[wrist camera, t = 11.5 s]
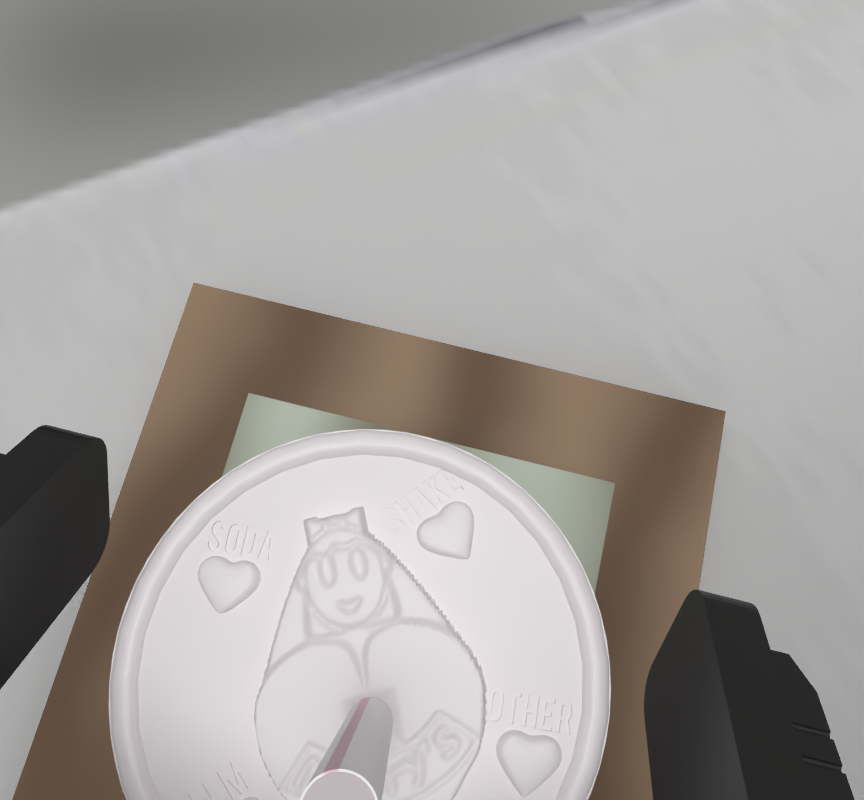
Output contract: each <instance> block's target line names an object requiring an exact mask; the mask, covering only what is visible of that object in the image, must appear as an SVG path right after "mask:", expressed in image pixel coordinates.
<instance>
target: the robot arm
mask: <svg viewBox="0 0 864 800" xmlns="http://www.w3.org/2000/svg"><path fill="white" fill-rule="evenodd" d="M109 528H110V517H109V492H108V466H107V449H106V445H105V443H104V441H103V440H102V439H100V438H97V437H93V436H89V435H85V434H81V433H77V432H73V431H69V430H65V429H61V428H57V427H53V426H49V425H44V426H40V427H38V428H37V429H35V430H34V431H33V432H31V433H30V434H29V435H28V436H27V437H26V438H25V439H23V440H22V441H21V442H20V443H19V444H18V445H16V446H15V447H14V448H13V449H12V450H11V451H10V452H8V453H7V454H6V455H5V454H1V453H0V689H1V688H2V687H3V685H4V684H5V683H6V681H7V680H8V679H9V678H10V676H11V675H12V674H13V672H14V671H15V670H16V669H17V667H18V666H19V665H20V664H21V662H22V661H23V660H24V658H25V657H26V656H27V655H28V653H29V652H30V651H31V649H32V648H33V647H34V646H35V644H36V643H37V642H38V641H39V639H40V638H41V637H42V635H43V634H44V633H45V632H46V630H47V629H48V628H49V627H50V625H51V624H52V623H53V621H54V620H55V619H56V618H57V616H58V615H59V614H60V612H61V611H62V610H63V609H64V607H65V606H66V605H67V604H68V602H69V601H70V600H71V598H72V597H73V596H74V595H75V593H76V592H77V591H78V589H79V588H80V587H81V586H82V584H83V583H84V582H85V581H86V579H87V578H88V577H89V575H90V574H91V573H92V572H93V570H94V569H95V567H96V566H97V564H98V562H99V560H100V558H101V556H102V554H103V552H104V549H105V546H106V543H107V539H108V535H109ZM644 719H645V728H646V737H647V747H648V756H649V765H650V775H651V784H652V793H653V800H854V797H853V794H852V791H851V789H850V786H849V783H848V780H847V777H846V774H844V773H842V772H841V767H842V763H841V760H840V757H839V754H838V751H837V749H836V746H835V743H834V740H832V739H830V732H831V731H830V729H829V726H828V723H827V720H826V717H825V714H824V711H823V709H822V706H821V703H820V700H819V697H818V694H817V692H816V690H815V689H814V688H813V686H812V685H811V684H810V682H809V681H808V680H807V678H806V677H805V676H804V674H803V673H802V672H801V670H800V669H799V668H798V666H797V665H796V663H795V662H794V661H793V659H792V658H791V657H790V655H789V654H785V653H781V652H777V651H773V650H770V647H769V644H768V640H767V637H766V634H765V631H764V627H763V624H762V621H761V617H760V614H759V612H758V610H757V608H756V607H755V606H754V605H753V604H751V603H748V602H744V601H740V600H736V599H732V598H728V597H724V596H720V595H716V594H712V593H708V592H704V591H700V590H693V591H691V592H690V593H689V594H688V595H687V597H686V598H685V600H684V602H683V604H682V606H681V608H680V610H679V612H678V614H677V616H676V618H675V620H674V622H673V623H672V625H671V627H670V629H669V631H668V633H667V635H666V637H665V639H664V641H663V643H662V645H661V647H660V649H659V651H658V653H657V655H656V657H655V659H654V661H653V663H652V665H651V668H650V670H649V674H648V677H647V682H646V687H645V694H644Z"/></svg>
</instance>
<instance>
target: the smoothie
mask: <svg viewBox="0 0 864 800" xmlns="http://www.w3.org/2000/svg"><path fill="white" fill-rule="evenodd" d="M610 699H611V679H610V661H609V654H608V646H607V639H606V634H605V630H604V625H603V621H602V617H601V613H600V610H599V607H598V604H597V601H596V598H595V595H594V591H593V589H592V587H591V584H590V582H589V580H588V577H587V575H586V573H585V570H584V568H583V566H582V564H581V563H580V561H579V559H578V557H577V555H576V553H575V552H574V550H573V548H572V546H571V545H570V543H569V542H568V540H567V539H566V537H565V536H564V534H563V533H562V531H561V530H560V528H559V527H558V526H557V525H556V523H555V522H554V521H553V520H552V518H551V517H550V516H549V515H548V514H547V512H546V511H545V510H544V509H543V508H542V507H541V506H540V505H539V504H538V503H537V502H536V501H535V500H534V499H533V498H532V497H531V496H530V495H529V494H528V493H527V492H526V491H525V490H524V489H523V488H522V487H520V486H519V485H518V484H517V483H516V482H514V481H513V480H512V479H511V478H510V477H508V476H507V475H505V474H504V473H502V472H501V471H499V470H498V469H496V468H495V467H494V466H492V465H491V464H489V463H487V462H485V461H483V460H482V459H480V458H478V457H476V456H474V455H473V454H471V453H469V452H466V451H464V450H462V449H459V448H457V447H455V446H452V445H450V444H447V443H444V442H441V441H438V440H435V439H432V438H429V437H424V436H420V435H415V434H411V433H406V432H398V431H390V430H374V429H357V430H342V431H334V432H328V433H322V434H316V435H312V436H309V437H305V438H301V439H297V440H294V441H291V442H288V443H286V444H283V445H280V446H277V447H275V448H272V449H270V450H268V451H266V452H264V453H262V454H259V455H257V456H255V457H253V458H251V459H249V460H248V461H246V462H244V463H243V464H241V465H239V466H238V467H236V468H234V469H233V470H231V471H230V472H228V473H227V474H226V475H224V476H223V477H221V478H220V479H219V480H217V481H216V482H215V483H213V484H212V485H211V486H210V487H208V488H207V489H206V490H205V491H204V492H203V493H202V494H200V495H199V496H198V497H197V498H196V499H195V500H194V501H193V502H192V503H191V504H190V505H189V506H188V507H187V508H186V509H185V510H184V511H183V512H182V513H181V514H180V515H179V516H178V518H177V519H176V520H175V521H174V522H173V524H172V525H171V526H170V528H169V529H168V530H167V531H166V533H165V534H164V535H163V536H162V538H161V539H160V541H159V542H158V544H157V545H156V547H155V548H154V550H153V551H152V553H151V555H150V556H149V558H148V559H147V561H146V563H145V565H144V567H143V569H142V571H141V572H140V574H139V576H138V578H137V580H136V582H135V584H134V587H133V589H132V592H131V594H130V596H129V599H128V601H127V604H126V606H125V609H124V613H123V616H122V619H121V622H120V625H119V628H118V633H117V637H116V642H115V646H114V651H113V656H112V664H111V672H110V680H109V722H110V735H111V742H112V748H113V754H114V760H115V764H116V768H117V772H118V776H119V779H120V783H121V787H122V790H123V792H124V795H125V798H126V800H588V799H589V796H590V794H591V791H592V789H593V786H594V783H595V780H596V777H597V774H598V771H599V768H600V764H601V760H602V756H603V752H604V748H605V743H606V737H607V730H608V724H609V717H610Z"/></svg>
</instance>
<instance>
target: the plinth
mask: <svg viewBox="0 0 864 800" xmlns="http://www.w3.org/2000/svg"><path fill="white" fill-rule="evenodd" d="M724 418H725V411H722V410H718V409H714V408H710V407H705V406H701V405H697V404H693V403H689V402H685V401H681V400H677V399H672V398H668V397H664V396H660V395H656V394H652V393H648V392H643V391H639V390H635V389H631V388H627V387H623V386H619V385H615V384H610V383H606V382H602V381H598V380H594V379H590V378H586V377H581V376H577V375H573V374H569V373H565V372H561V371H557V370H553V369H548V368H544V367H540V366H536V365H532V364H528V363H524V362H519V361H515V360H511V359H507V358H503V357H499V356H495V355H490V354H486V353H482V352H478V351H474V350H470V349H466V348H462V347H457V346H453V345H449V344H445V343H441V342H437V341H433V340H428V339H424V338H420V337H416V336H412V335H408V334H404V333H400V332H395V331H391V330H387V329H383V328H379V327H375V326H371V325H366V324H362V323H358V322H354V321H350V320H346V319H342V318H338V317H333V316H329V315H325V314H321V313H317V312H313V311H309V310H304V309H300V308H296V307H292V306H288V305H284V304H280V303H276V302H271V301H267V300H263V299H259V298H255V297H251V296H247V295H242V294H238V293H234V292H230V291H226V290H222V289H218V288H213V287H209V286H205V285H201V284H197V283H194V284H193V287H192V289H191V292H190V295H189V298H188V301H187V304H186V306H185V309H184V312H183V315H182V318H181V321H180V324H179V326H178V329H177V332H176V335H175V338H174V341H173V344H172V346H171V349H170V352H169V355H168V358H167V361H166V364H165V366H164V369H163V372H162V375H161V378H160V381H159V383H158V386H157V389H156V392H155V395H154V398H153V401H152V403H151V406H150V409H149V412H148V415H147V418H146V421H145V423H144V426H143V429H142V432H141V435H140V438H139V440H138V443H137V446H136V449H135V452H134V455H133V458H132V460H131V463H130V466H129V469H128V472H127V475H126V478H125V480H124V483H123V486H122V489H121V492H120V495H119V497H118V500H117V503H116V506H115V509H114V512H113V515H112V517H111V520H110V528H109V535H108V539H107V543H106V546H105V549H104V552H103V554H102V556H101V558H100V560H99V562H98V564H97V566H96V567H95V569H94V570H93V572H92V574H91V577H90V580H89V583H88V586H87V589H86V592H85V594H84V597H83V600H82V603H81V606H80V609H79V612H78V614H77V617H76V620H75V623H74V626H73V629H72V631H71V634H70V637H69V640H68V643H67V646H66V649H65V651H64V654H63V657H62V660H61V663H60V666H59V669H58V671H57V674H56V677H55V680H54V683H53V686H52V688H51V691H50V694H49V697H48V700H47V703H46V706H45V708H44V711H43V714H42V717H41V720H40V723H39V726H38V728H37V731H36V734H35V737H34V740H33V743H32V746H31V748H30V751H29V754H28V757H27V760H26V763H25V765H24V768H23V771H22V774H21V777H20V780H19V783H18V785H17V788H16V791H15V794H14V797H13V800H126V798H125V795H124V792H123V790H122V787H121V783H120V779H119V776H118V772H117V768H116V764H115V760H114V754H113V748H112V742H111V735H110V722H109V680H110V672H111V664H112V656H113V651H114V646H115V642H116V637H117V633H118V628H119V625H120V622H121V619H122V616H123V613H124V609H125V606H126V604H127V601H128V599H129V596H130V594H131V592H132V589H133V587H134V584H135V582H136V580H137V578H138V576H139V574H140V572H141V571H142V569H143V567H144V565H145V563H146V561H147V559H148V558H149V556H150V555H151V553H152V551H153V550H154V548H155V547H156V545H157V544H158V542H159V541H160V539H161V538H162V536H163V535H164V534H165V533H166V531H167V530H168V529H169V528H170V526H171V525H172V524H173V522H174V521H175V520H176V519H177V518H178V516H179V515H180V514H181V513H182V512H183V511H184V510H185V509H186V508H187V507H188V506H189V505H190V504H191V503H192V502H193V501H194V500H195V499H196V498H197V497H198V496H199V495H200V494H202V493H203V492H204V491H205V490H206V489H207V488H208V487H210V486H211V485H212V484H213V483H215V482H216V481H217V480H219V479H220V478H221V477H223V476H224V475H226V474H227V473H228V472H230V471H231V470H233V469H234V468H236V467H238V466H239V465H241V464H243V463H244V462H246V461H248V460H249V459H251V458H253V457H255V456H257V455H259V454H262V453H264V452H266V451H268V450H270V449H272V448H275V447H277V446H280V445H283V444H286V443H288V442H291V441H294V440H297V439H301V438H305V437H309V436H312V435H316V434H322V433H328V432H334V431H342V430H357V429H374V430H390V431H398V432H406V433H411V434H415V435H420V436H424V437H429V438H432V439H435V440H438V441H441V442H444V443H447V444H450V445H452V446H455V447H457V448H459V449H462V450H464V451H466V452H469V453H471V454H473V455H474V456H476V457H478V458H480V459H482V460H483V461H485V462H487V463H489V464H491V465H492V466H494V467H495V468H496V469H498V470H499V471H501V472H502V473H504V474H505V475H507V476H508V477H510V478H511V479H512V480H513V481H514V482H516V483H517V484H518V485H519V486H520V487H522V488H523V489H524V490H525V491H526V492H527V493H528V494H529V495H530V496H531V497H532V498H533V499H534V500H535V501H536V502H537V503H538V504H539V505H540V506H541V507H542V508H543V509H544V510H545V511H546V512H547V514H548V515H549V516H550V517H551V518H552V520H553V521H554V522H555V523H556V525H557V526H558V527H559V528H560V530H561V531H562V533H563V534H564V536H565V537H566V539H567V540H568V542H569V543H570V545H571V546H572V548H573V550H574V552H575V553H576V555H577V557H578V559H579V561H580V563H581V564H582V566H583V568H584V570H585V573H586V575H587V577H588V580H589V582H590V584H591V587H592V589H593V591H594V595H595V598H596V601H597V604H598V607H599V610H600V613H601V617H602V621H603V625H604V630H605V634H606V639H607V646H608V654H609V661H610V679H611V699H610V717H609V724H608V730H607V737H606V743H605V748H604V752H603V756H602V760H601V764H600V768H599V771H598V774H597V777H596V780H595V783H594V786H593V789H592V791H591V794H590V796H589V799H588V800H653V793H652V784H651V775H650V765H649V756H648V747H647V737H646V728H645V719H644V694H645V687H646V682H647V677H648V674H649V670H650V668H651V665H652V663H653V661H654V659H655V657H656V655H657V653H658V651H659V649H660V647H661V645H662V643H663V641H664V639H665V637H666V635H667V633H668V631H669V629H670V627H671V625H672V623H673V622H674V620H675V618H676V616H677V614H678V612H679V610H680V608H681V606H682V604H683V602H684V600H685V598H686V597H687V595H688V594H689V593H690V592H691V591H693V590H699V583H700V577H701V570H702V563H703V557H704V550H705V544H706V537H707V530H708V524H709V517H710V511H711V504H712V497H713V491H714V484H715V478H716V471H717V464H718V458H719V451H720V445H721V438H722V431H723V425H724Z"/></svg>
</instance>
